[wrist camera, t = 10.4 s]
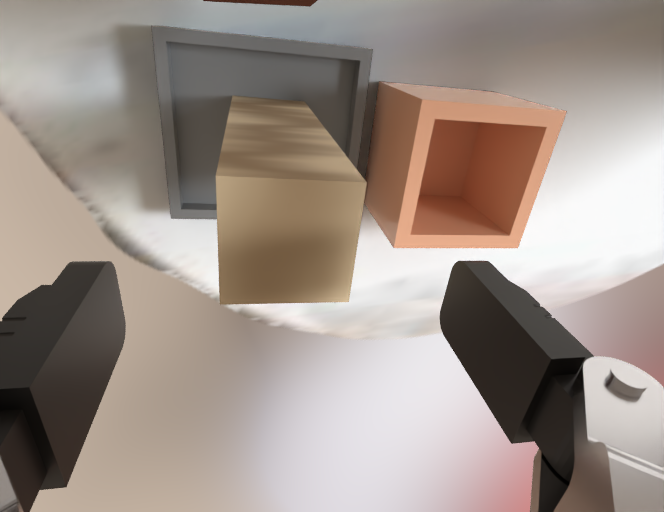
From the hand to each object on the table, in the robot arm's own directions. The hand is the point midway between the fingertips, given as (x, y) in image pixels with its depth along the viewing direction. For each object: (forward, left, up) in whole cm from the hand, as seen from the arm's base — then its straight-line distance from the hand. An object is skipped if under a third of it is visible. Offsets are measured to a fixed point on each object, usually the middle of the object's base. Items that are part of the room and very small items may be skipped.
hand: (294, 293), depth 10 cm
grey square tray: (0, 0, -17) cm, 17 cm away
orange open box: (-10, 0, -17) cm, 20 cm away
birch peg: (0, 0, -16) cm, 16 cm away
